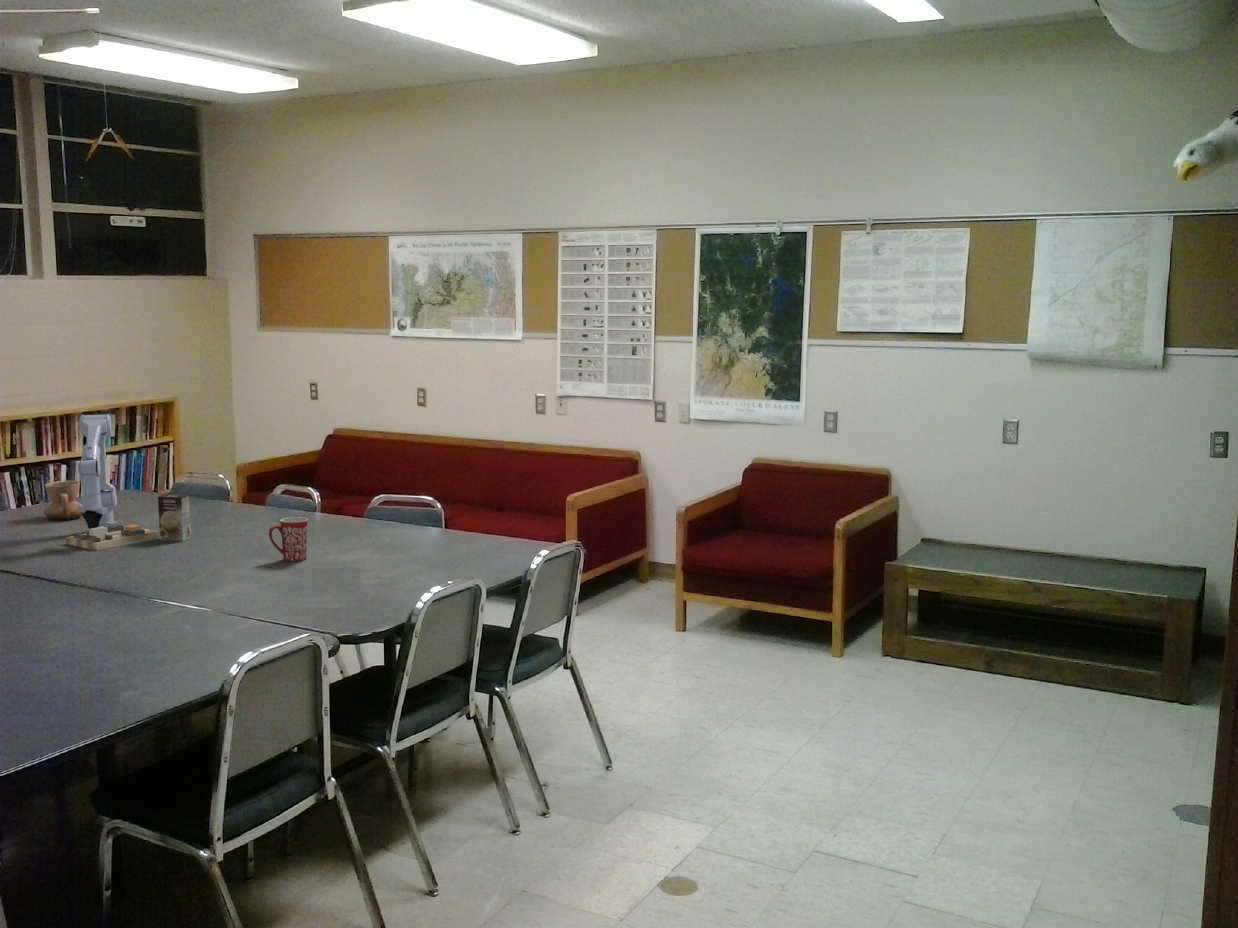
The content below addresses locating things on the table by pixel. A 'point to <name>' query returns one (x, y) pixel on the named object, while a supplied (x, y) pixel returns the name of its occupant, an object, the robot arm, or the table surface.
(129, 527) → the terracotta button
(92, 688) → the table surface
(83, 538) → the control panel
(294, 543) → the mug
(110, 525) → the grey button
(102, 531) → the slider knob
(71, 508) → the ceramic jug
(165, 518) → the coffee box
